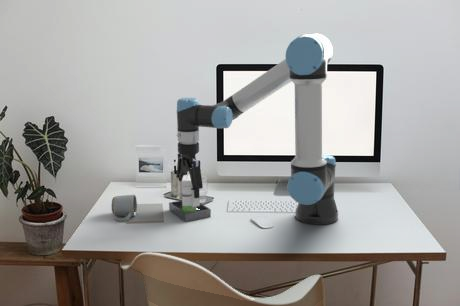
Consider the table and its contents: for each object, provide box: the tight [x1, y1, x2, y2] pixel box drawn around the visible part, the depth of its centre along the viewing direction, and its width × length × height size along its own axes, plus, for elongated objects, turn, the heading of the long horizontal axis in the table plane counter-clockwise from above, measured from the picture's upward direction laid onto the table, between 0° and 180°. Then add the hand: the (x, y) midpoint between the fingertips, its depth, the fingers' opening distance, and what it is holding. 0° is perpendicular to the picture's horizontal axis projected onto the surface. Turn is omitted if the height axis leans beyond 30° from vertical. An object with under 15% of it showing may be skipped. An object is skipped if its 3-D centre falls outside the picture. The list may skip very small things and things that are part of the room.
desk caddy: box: [168, 199, 212, 223], centre depth 207 cm, size 10×14×3 cm
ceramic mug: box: [111, 194, 138, 223], centre depth 203 cm, size 11×8×8 cm
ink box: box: [181, 174, 196, 212], centre depth 205 cm, size 9×5×12 cm, turn 0°
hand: (189, 202), depth 206 cm, fingers closed on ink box, 9 cm apart
